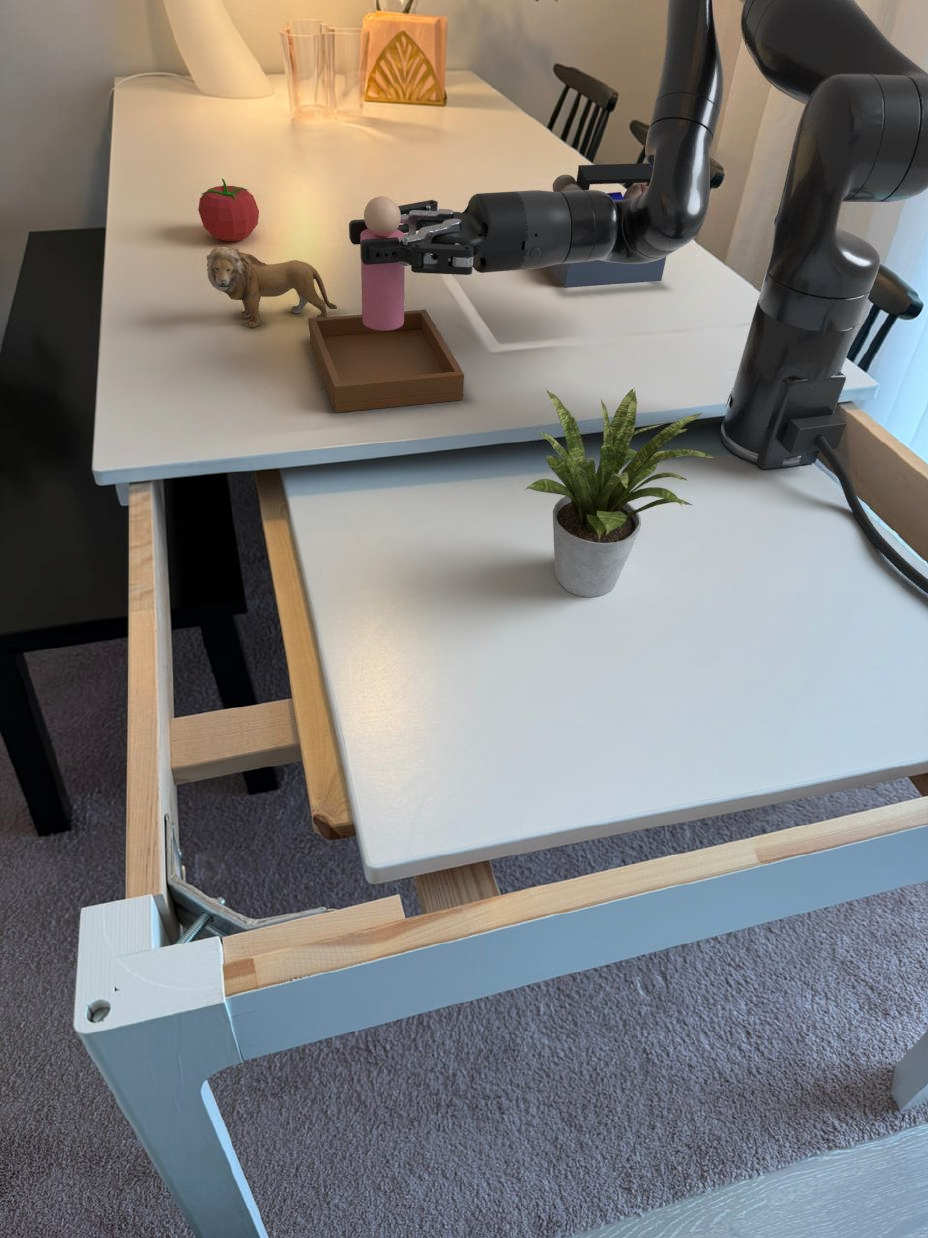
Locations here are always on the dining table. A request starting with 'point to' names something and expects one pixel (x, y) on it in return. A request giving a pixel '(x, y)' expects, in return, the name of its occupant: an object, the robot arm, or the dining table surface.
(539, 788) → the dining table surface
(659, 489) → the house plant
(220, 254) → the lion figurine
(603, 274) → the blue square open box
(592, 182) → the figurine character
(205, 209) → the tomato
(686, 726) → the dining table surface
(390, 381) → the tray
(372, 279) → the doll
